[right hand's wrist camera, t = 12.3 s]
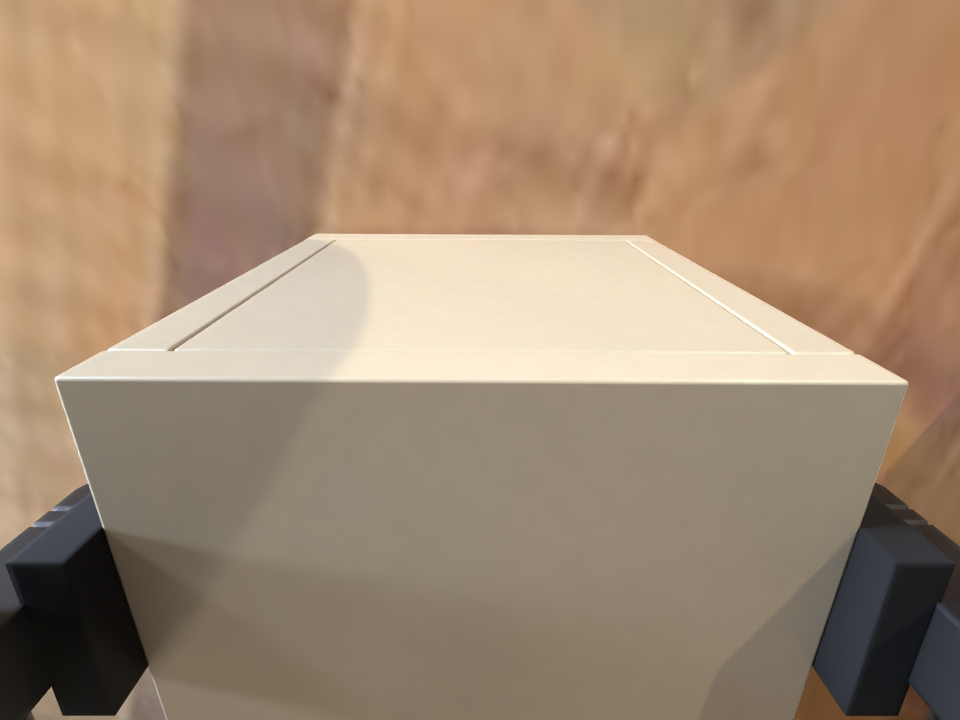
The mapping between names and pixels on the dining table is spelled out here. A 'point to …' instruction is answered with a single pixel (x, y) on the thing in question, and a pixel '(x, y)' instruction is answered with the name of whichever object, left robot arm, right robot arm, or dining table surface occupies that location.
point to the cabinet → (480, 484)
